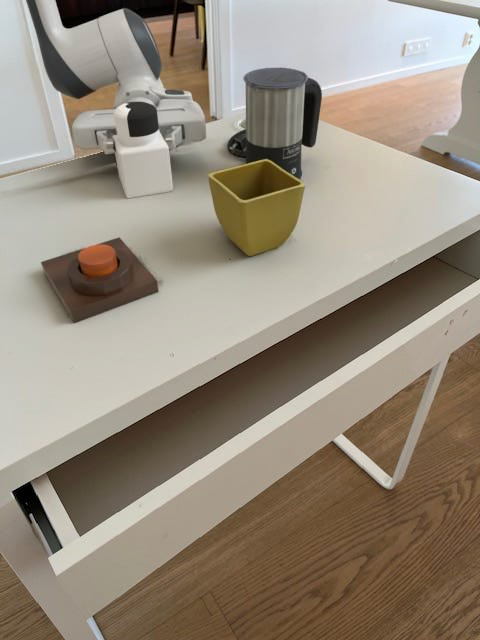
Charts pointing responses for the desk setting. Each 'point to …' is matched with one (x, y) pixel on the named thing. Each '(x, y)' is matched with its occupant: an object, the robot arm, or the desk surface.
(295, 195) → the flower pot
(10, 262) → the desk surface
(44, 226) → the desk surface
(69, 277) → the button base
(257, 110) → the milk frother
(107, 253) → the button
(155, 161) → the medicine bottle
